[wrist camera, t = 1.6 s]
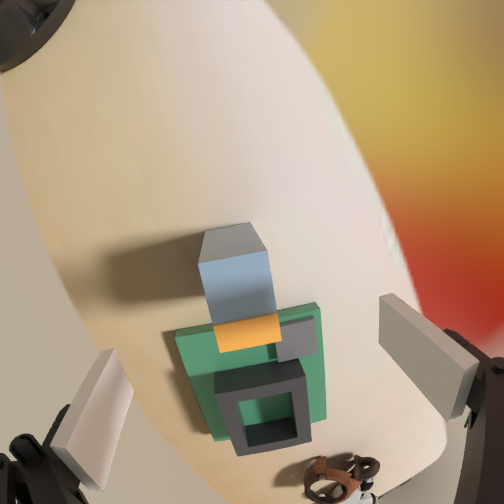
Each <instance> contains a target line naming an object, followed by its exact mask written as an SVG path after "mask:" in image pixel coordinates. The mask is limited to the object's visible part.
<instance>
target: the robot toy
mask: <svg viewBox="0 0 504 504" xmlns="http://www.w3.org/2000/svg"><path fill="white" fill-rule="evenodd" d="M374 480H375V476H373V477H372V478H370V479H367V480H363V482H362V483H361V484H360V487H361V490H360V489H359V487H358V488H357V489H356V490H355V491H354V492H353V493H352V494H351V496H350V497H349V498H348V499H347V500H345V501H343V502H341V503H337V504H375V502H376V504H378V503H377V499H378V498H377V496H375V495H374V494H373V493H369V492H364V491H367V490H369V489H370V488H371V487H372V486H373V484H374V483H373V481H374ZM344 491H346V487H345V486H344V485H342V486H340V485H339V486H337V487H336V488H335V489H334V491H333V492H332V497H333V498H337V497H339V496H340V495H341V494H342V493H343V492H344ZM320 496H330V495H327V494H319V497H320Z"/></svg>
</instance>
